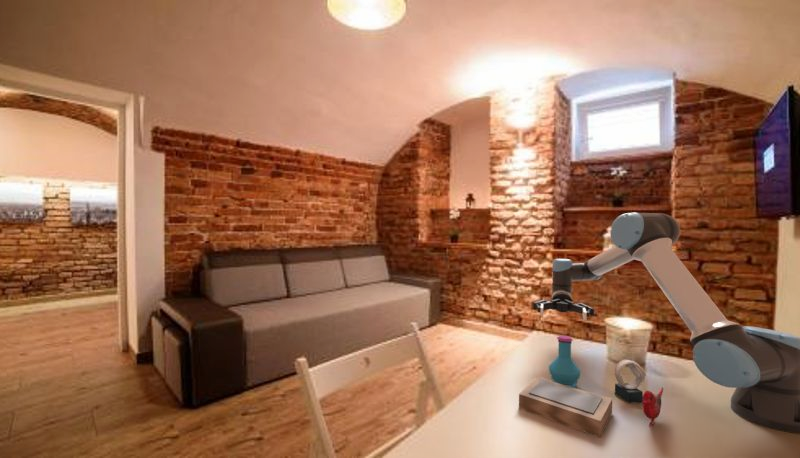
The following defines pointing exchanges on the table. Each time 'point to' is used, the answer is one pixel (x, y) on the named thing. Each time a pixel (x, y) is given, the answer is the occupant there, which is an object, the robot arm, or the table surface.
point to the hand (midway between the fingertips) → (562, 314)
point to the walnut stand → (567, 405)
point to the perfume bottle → (564, 364)
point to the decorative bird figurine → (652, 405)
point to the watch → (626, 389)
